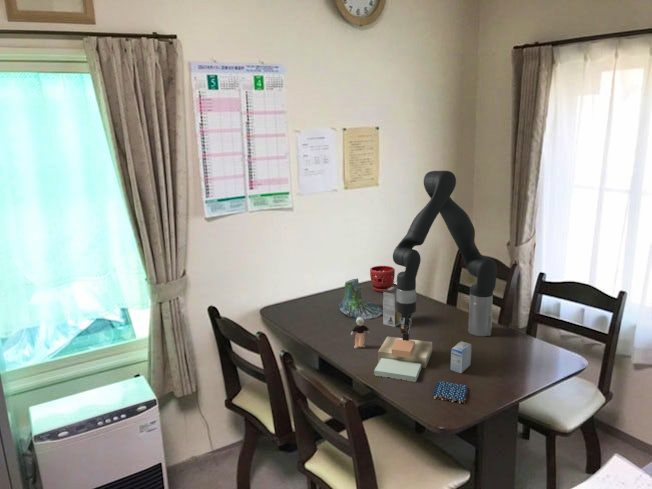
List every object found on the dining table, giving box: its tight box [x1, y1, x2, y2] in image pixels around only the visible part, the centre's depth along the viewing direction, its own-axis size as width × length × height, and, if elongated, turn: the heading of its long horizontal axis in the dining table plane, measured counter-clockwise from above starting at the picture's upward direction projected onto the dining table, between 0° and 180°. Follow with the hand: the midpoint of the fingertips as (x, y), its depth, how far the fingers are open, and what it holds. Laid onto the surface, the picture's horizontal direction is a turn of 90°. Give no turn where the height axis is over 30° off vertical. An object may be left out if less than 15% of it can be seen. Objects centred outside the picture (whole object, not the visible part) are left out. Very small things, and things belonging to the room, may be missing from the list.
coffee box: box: [382, 284, 401, 328], centre depth 221 cm, size 9×6×16 cm
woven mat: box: [432, 380, 469, 404], centre depth 164 cm, size 10×11×2 cm
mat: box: [373, 358, 422, 383], centre depth 179 cm, size 15×10×2 cm, turn 69°
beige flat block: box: [377, 336, 433, 369], centre depth 190 cm, size 18×14×4 cm
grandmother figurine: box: [350, 317, 371, 349], centre depth 199 cm, size 8×4×13 cm, turn 105°
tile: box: [392, 339, 415, 358], centre depth 186 cm, size 7×9×2 cm
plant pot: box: [369, 265, 396, 293], centre depth 266 cm, size 13×13×12 cm
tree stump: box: [338, 278, 383, 321], centre depth 235 cm, size 19×21×19 cm
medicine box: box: [450, 341, 472, 374], centre depth 180 cm, size 8×4×9 cm, turn 141°
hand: (405, 341), depth 191 cm, fingers closed
